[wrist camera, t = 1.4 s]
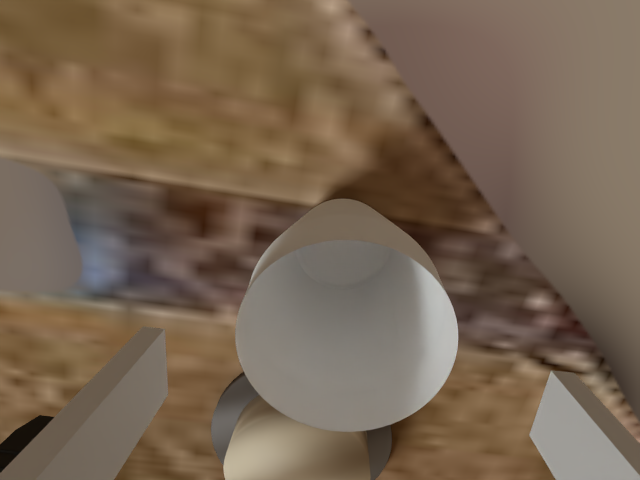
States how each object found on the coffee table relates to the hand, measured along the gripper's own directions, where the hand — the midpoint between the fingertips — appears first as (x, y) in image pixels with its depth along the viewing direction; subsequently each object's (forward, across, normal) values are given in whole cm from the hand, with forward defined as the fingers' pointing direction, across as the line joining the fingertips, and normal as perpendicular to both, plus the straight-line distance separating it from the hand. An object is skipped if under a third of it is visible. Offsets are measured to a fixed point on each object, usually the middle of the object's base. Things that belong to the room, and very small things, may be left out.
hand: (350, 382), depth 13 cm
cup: (+14, 0, 0) cm, 14 cm away
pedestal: (+14, -2, -17) cm, 22 cm away
